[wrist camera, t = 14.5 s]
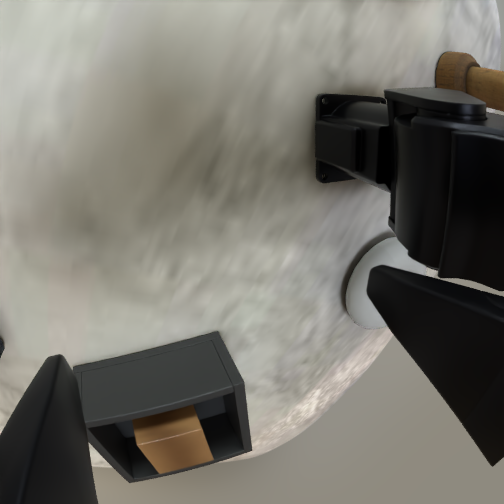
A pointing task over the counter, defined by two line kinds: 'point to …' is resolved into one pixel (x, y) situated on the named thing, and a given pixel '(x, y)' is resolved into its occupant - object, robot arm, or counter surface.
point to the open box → (164, 401)
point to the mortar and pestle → (471, 79)
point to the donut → (356, 294)
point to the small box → (1, 347)
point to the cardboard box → (172, 439)
